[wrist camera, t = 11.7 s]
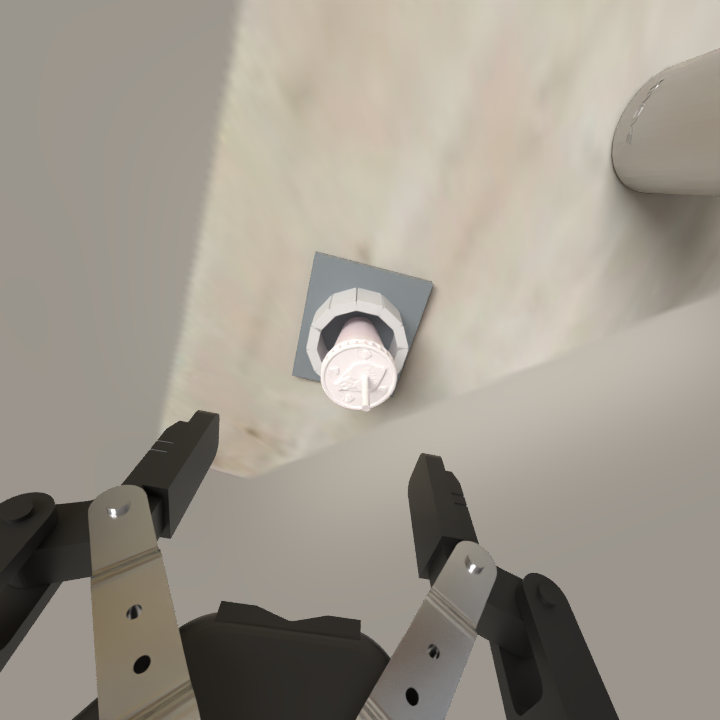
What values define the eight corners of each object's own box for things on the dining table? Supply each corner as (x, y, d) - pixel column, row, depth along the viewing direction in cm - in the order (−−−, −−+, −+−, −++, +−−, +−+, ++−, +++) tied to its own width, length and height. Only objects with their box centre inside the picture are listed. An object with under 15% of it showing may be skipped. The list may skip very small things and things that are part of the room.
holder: (431, 281, 35) (441, 296, 30) (391, 392, 41) (395, 418, 36) (316, 251, 33) (309, 262, 29) (293, 371, 40) (284, 394, 35)
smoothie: (397, 347, 37) (416, 430, 25) (343, 367, 38) (336, 456, 26) (375, 294, 34) (385, 357, 22) (318, 318, 35) (296, 390, 23)
